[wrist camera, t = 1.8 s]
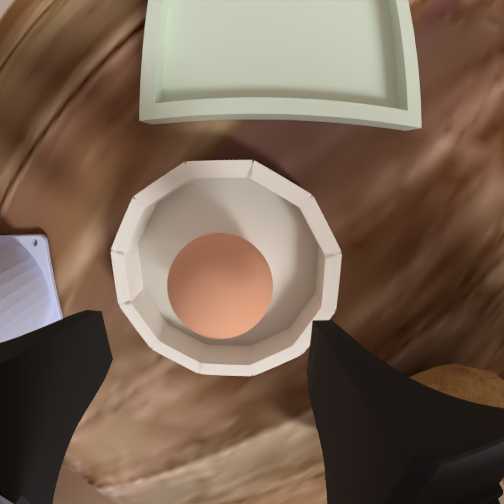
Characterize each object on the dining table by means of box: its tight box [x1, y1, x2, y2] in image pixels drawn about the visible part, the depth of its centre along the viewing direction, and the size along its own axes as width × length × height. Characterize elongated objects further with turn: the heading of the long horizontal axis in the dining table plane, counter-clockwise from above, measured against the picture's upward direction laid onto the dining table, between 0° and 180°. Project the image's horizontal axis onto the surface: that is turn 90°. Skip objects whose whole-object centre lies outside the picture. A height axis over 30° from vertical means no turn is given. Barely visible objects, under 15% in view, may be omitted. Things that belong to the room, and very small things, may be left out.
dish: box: [111, 160, 342, 376], centre depth 16 cm, size 12×12×2 cm
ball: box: [167, 233, 273, 339], centre depth 15 cm, size 5×5×5 cm
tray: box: [139, 0, 421, 131], centre depth 12 cm, size 14×12×2 cm
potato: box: [324, 363, 504, 481], centre depth 16 cm, size 10×14×8 cm
